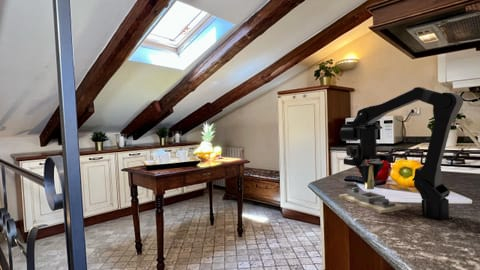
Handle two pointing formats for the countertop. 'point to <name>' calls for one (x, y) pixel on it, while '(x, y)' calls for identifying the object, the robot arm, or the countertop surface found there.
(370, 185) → the brass pin
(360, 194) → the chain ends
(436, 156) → the robot arm
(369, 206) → the wooden board
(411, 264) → the countertop surface
